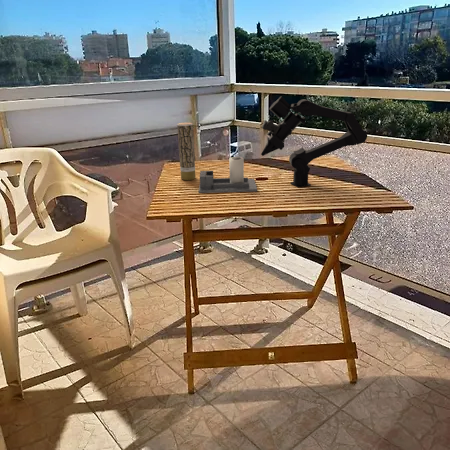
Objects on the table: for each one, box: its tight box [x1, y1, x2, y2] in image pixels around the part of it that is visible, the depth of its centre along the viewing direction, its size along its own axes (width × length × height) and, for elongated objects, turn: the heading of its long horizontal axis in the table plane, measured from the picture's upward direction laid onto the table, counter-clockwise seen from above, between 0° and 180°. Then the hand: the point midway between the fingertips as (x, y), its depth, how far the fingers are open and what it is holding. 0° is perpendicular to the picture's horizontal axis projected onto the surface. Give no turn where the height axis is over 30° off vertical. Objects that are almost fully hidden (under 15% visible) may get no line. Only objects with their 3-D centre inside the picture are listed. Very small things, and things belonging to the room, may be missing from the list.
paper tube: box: [176, 122, 197, 181], centre depth 179 cm, size 7×7×25 cm
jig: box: [198, 170, 258, 194], centre depth 170 cm, size 24×16×6 cm, turn 91°
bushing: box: [228, 156, 245, 183], centre depth 168 cm, size 6×6×11 cm
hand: (261, 155), depth 166 cm, fingers closed
